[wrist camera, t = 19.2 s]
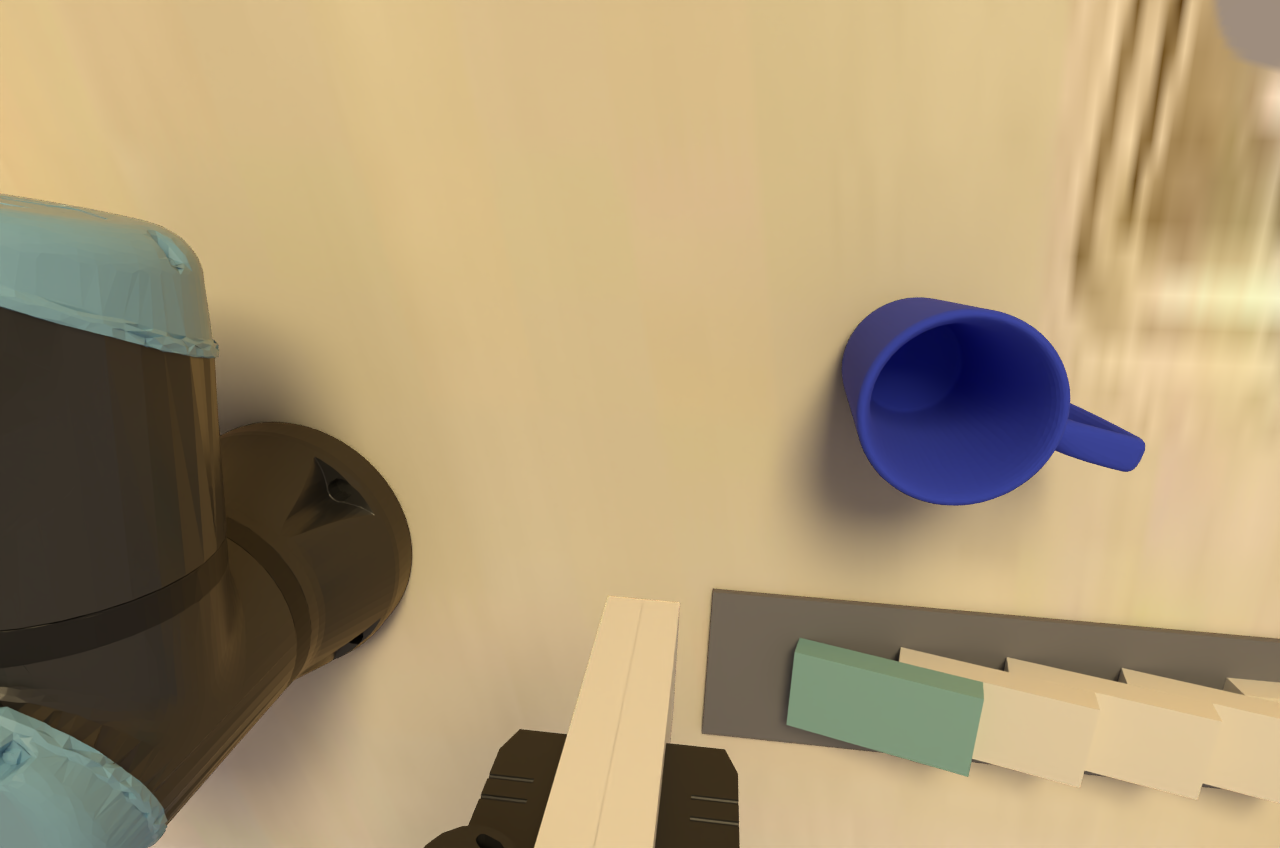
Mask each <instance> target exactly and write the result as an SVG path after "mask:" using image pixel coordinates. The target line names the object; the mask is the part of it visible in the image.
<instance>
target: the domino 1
mask: <svg viewBox="0 0 1280 848" xmlns="http://www.w3.org/2000/svg"><path fill="white" fill-rule="evenodd" d="M898 662H902V663H906V664H910V665H914V666H918V667H923V668H927V669H931V670H935V671H939V672H943V673H947V674H951V675H955V676H960V677H964V678H968V679H972V680H976V681H980V682H983V690H984V702H983V707H982V712H981V717H980V722H979V727H978V731H977V736H976V741H975V746H974V751H973V756H972V759H975V760H979V761H983V762H986V763H990V764H993V765H997V766H1001V767H1004V768H1008V769H1012V770H1015V771H1019V772H1023V773H1026V774H1030V775H1033V776H1037V777H1041V778H1044V779H1048V780H1052V781H1055V782H1059V783H1063V784H1066V785H1070V786H1074V787H1077V788H1080V786H1081V782H1082V778H1083V774H1084V771H1085V767H1086V763H1087V759H1088V755H1089V751H1090V748H1091V744H1092V740H1093V736H1094V732H1095V728H1096V725H1097V721H1098V717H1099V713H1100V708H1099V705H1098V701H1097V698H1096V695H1095V692H1091V691H1086V690H1082V689H1078V688H1074V687H1069V686H1065V685H1061V684H1056V683H1052V682H1048V681H1044V680H1039V679H1035V678H1031V677H1027V676H1022V675H1018V674H1014V673H1010V672H1005V671H1001V670H997V669H992V668H988V667H984V666H980V665H975V664H971V663H967V662H963V661H958V660H954V659H950V658H946V657H941V656H937V655H933V654H928V653H924V652H920V651H916V650H911V649H907V648H903V647H901V649H900V655H899V661H898Z"/></svg>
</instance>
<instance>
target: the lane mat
mask: <svg viewBox="0 0 1280 848" xmlns="http://www.w3.org/2000/svg"><path fill="white" fill-rule="evenodd" d="M800 638H803V639H808V640H812V641H816V642H820V643H824V644H828V645H832V646H836V647H840V648H845V649H849V650H853V651H857V652H861V653H865V654H869V655H873V656H877V657H882V658H886V659H890V660H894V661H899V655H900V649H901V647H903V648H907V649H911V650H916V651H920V652H924V653H928V654H933V655H937V656H941V657H946V658H950V659H954V660H958V661H963V662H967V663H971V664H975V665H980V666H984V667H988V668H992V669H997V670H1001V671H1004V668H1005V663H1006V658H1007V657H1009V658H1014V659H1018V660H1022V661H1027V662H1031V663H1036V664H1040V665H1045V666H1049V667H1054V668H1058V669H1062V670H1067V671H1071V672H1076V673H1080V674H1085V675H1089V676H1094V677H1098V678H1102V679H1107V680H1111V681H1116V682H1118V679H1119V675H1120V672H1121V668H1125V669H1129V670H1134V671H1138V672H1143V673H1147V674H1152V675H1156V676H1161V677H1165V678H1170V679H1174V680H1178V681H1183V682H1187V683H1192V684H1196V685H1201V686H1205V687H1210V688H1214V689H1219V690H1223V688H1224V685H1225V682H1226V678H1236V679H1247V680H1258V681H1268V682H1279V683H1280V639H1274V638H1262V637H1251V636H1240V635H1229V634H1217V633H1206V632H1195V631H1184V630H1172V629H1161V628H1150V627H1139V626H1127V625H1116V624H1105V623H1093V622H1082V621H1071V620H1060V619H1048V618H1037V617H1026V616H1015V615H1003V614H992V613H981V612H970V611H958V610H947V609H936V608H924V607H913V606H902V605H891V604H879V603H868V602H857V601H846V600H834V599H823V598H812V597H801V596H789V595H778V594H767V593H755V592H744V591H733V590H722V589H713V598H712V611H711V624H710V637H709V650H708V664H707V677H706V690H705V703H704V716H703V729H702V733H703V734H713V735H722V736H732V737H741V738H750V739H760V740H769V741H778V742H788V743H797V744H807V745H816V746H825V747H835V748H844V749H853V750H863V751H872V752H880V751H876V750H873V749H869V748H866V747H862V746H859V745H855V744H852V743H848V742H845V741H841V740H838V739H834V738H831V737H827V736H824V735H820V734H817V733H813V732H810V731H806V730H803V729H799V728H796V727H792V726H789V725H786V724H787V715H788V706H789V698H790V689H791V680H792V671H793V662H794V653H795V650H796V647H797V644H798V641H799V639H800ZM882 753H883V752H882ZM971 762H975V763H985V764H990V763H986V762H983V761H979V760H975V759H972V761H971ZM1084 774H1088V775H1097V776H1104V775H1100V774H1096V773H1092V772H1088V771H1084ZM1202 787H1210V788H1218V787H1215V786H1211V785H1207V784H1202ZM1219 789H1222V788H1219Z"/></svg>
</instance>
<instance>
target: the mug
mask: <svg viewBox="0 0 1280 848" xmlns="http://www.w3.org/2000/svg"><path fill="white" fill-rule="evenodd" d="M842 379H843V384H844V389H845V392H846V395H847V399H848V402H849V406H850V409H851V412H852V416H853V419H854V423H855V426H856V429H857V433H858V436H859V440H860V443H861V446H862V448H863V450H864V453H865V455H866V457H867V458H868V460H869V462H870V463H871V465H872V466H873V467H874V469H875V470H876V471H877V472H878V473H879V475H880V476H881V477H882V478H883V479H884V480H886V481H887V482H888V483H889V484H890V485H892V486H893V487H895V488H896V489H897V490H899V491H901V492H903V493H905V494H906V495H909V496H911V497H913V498H916V499H918V500H921V501H925V502H929V503H933V504H940V505H955V506H956V505H970V504H975V503H981V502H984V501H988V500H991V499H994V498H997V497H999V496H1002V495H1004V494H1006V493H1008V492H1010V491H1012V490H1014V489H1016V488H1017V487H1019V486H1020V485H1022V484H1023V483H1025V482H1026V481H1027V480H1029V479H1030V478H1031V477H1032V476H1033V475H1035V474H1036V473H1037V472H1038V471H1039V470H1040V469H1041V468H1042V467H1043V466H1044V464H1045V463H1046V462H1047V461H1048V460H1049V458H1050V457H1051V455H1052V454H1053V453H1054V451H1058V452H1060V453H1063V454H1065V455H1068V456H1071V457H1074V458H1077V459H1080V460H1083V461H1086V462H1089V463H1093V464H1096V465H1100V466H1103V467H1107V468H1111V469H1115V470H1119V471H1124V472H1128V471H1131V470H1133V469H1134V468H1135V467H1136V466H1137V465H1138V463H1139V462H1140V460H1141V458H1142V456H1143V453H1144V451H1145V443H1144V442H1143V440H1142V439H1141V438H1139V437H1137V436H1135V435H1133V434H1131V433H1130V432H1128V431H1126V430H1124V429H1122V428H1120V427H1118V426H1116V425H1114V424H1112V423H1110V422H1108V421H1106V420H1104V419H1102V418H1100V417H1098V416H1096V415H1094V414H1092V413H1090V412H1088V411H1086V410H1084V409H1082V408H1080V407H1077V406H1075V405H1073V404H1071V403H1070V388H1069V381H1068V377H1067V374H1066V370H1065V368H1064V365H1063V363H1062V361H1061V359H1060V357H1059V355H1058V353H1057V352H1056V350H1055V349H1054V347H1053V346H1052V345H1051V343H1050V342H1049V341H1048V340H1047V339H1046V338H1045V337H1044V336H1043V335H1042V334H1041V333H1040V332H1039V331H1037V330H1036V329H1035V328H1034V327H1032V326H1031V325H1029V324H1027V323H1026V322H1024V321H1022V320H1020V319H1018V318H1016V317H1014V316H1011V315H1009V314H1006V313H1002V312H999V311H994V310H989V309H984V308H979V307H973V306H968V305H963V304H958V303H952V302H947V301H942V300H937V299H931V298H906V299H901V300H897V301H894V302H891V303H888V304H886V305H884V306H882V307H880V308H878V309H876V310H875V311H874V312H872V313H871V314H869V315H868V316H867V317H866V318H865V319H864V320H863V321H862V322H861V323H860V324H859V325H858V326H857V328H856V329H855V330H854V332H853V333H852V335H851V337H850V339H849V341H848V343H847V345H846V348H845V351H844V355H843V360H842Z"/></svg>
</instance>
